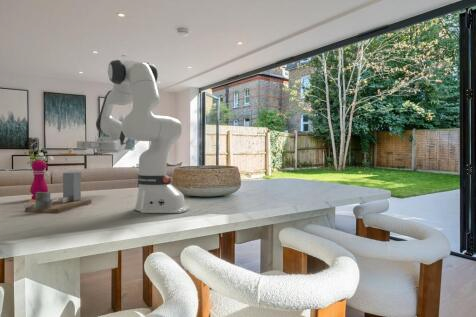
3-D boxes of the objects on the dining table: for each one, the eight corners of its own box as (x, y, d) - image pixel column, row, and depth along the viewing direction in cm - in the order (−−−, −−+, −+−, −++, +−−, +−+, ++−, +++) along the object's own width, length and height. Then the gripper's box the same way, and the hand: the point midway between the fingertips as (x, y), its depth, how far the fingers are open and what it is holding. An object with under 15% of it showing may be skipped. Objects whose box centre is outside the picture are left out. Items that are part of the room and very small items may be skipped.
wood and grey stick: (51, 206, 130) (51, 199, 130) (49, 206, 129) (49, 200, 128) (31, 205, 131) (31, 199, 131) (28, 205, 130) (28, 199, 130)
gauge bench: (91, 203, 147) (91, 186, 147) (58, 213, 126) (58, 193, 125) (62, 202, 149) (62, 185, 149) (25, 211, 128) (25, 192, 127)
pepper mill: (39, 201, 151) (39, 157, 150) (26, 200, 152) (26, 157, 152) (51, 198, 158) (51, 156, 157) (38, 197, 160) (38, 156, 159)
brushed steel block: (80, 199, 147) (80, 172, 146) (66, 203, 137) (66, 174, 136) (70, 198, 148) (70, 172, 147) (55, 202, 138) (55, 173, 137)
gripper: (86, 138, 171) (68, 138, 158) (123, 139, 169) (108, 138, 155) (86, 150, 172) (68, 151, 158) (123, 151, 169) (108, 152, 155)
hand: (89, 145), depth 156 cm, fingers closed
